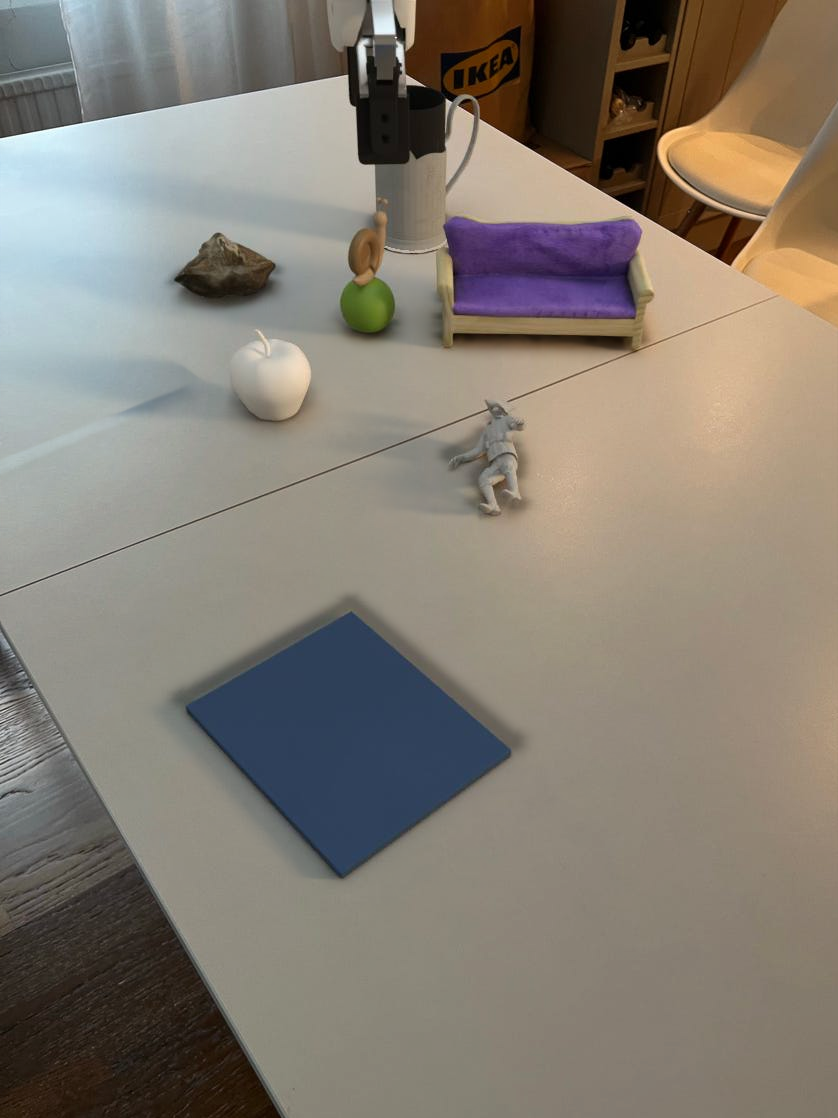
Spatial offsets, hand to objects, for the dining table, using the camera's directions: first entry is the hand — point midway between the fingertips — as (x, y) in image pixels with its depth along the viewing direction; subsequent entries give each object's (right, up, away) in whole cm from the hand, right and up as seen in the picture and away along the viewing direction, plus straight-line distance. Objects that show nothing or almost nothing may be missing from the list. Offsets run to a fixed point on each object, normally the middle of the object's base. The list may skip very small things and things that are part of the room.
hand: (378, 132), depth 68 cm
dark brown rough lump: (-20, +3, +41) cm, 45 cm away
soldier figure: (+8, -19, +21) cm, 30 cm away
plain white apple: (-12, -13, +26) cm, 31 cm away
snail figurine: (-4, -2, +37) cm, 37 cm away
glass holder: (+1, +14, +53) cm, 55 cm away
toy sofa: (+13, -2, +38) cm, 40 cm away
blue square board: (-2, -40, +1) cm, 40 cm away
